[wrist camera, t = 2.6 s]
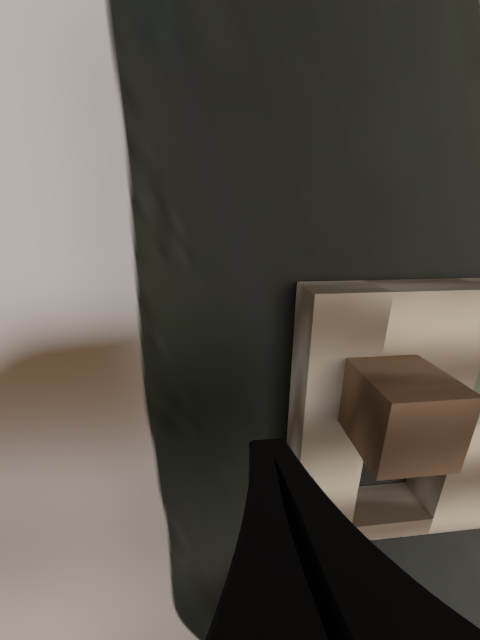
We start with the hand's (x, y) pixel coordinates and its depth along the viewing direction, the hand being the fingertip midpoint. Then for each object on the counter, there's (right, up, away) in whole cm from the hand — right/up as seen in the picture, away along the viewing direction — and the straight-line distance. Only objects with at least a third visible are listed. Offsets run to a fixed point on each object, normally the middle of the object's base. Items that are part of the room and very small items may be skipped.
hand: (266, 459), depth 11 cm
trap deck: (+13, -1, +9) cm, 16 cm away
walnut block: (+7, +2, +5) cm, 8 cm away
